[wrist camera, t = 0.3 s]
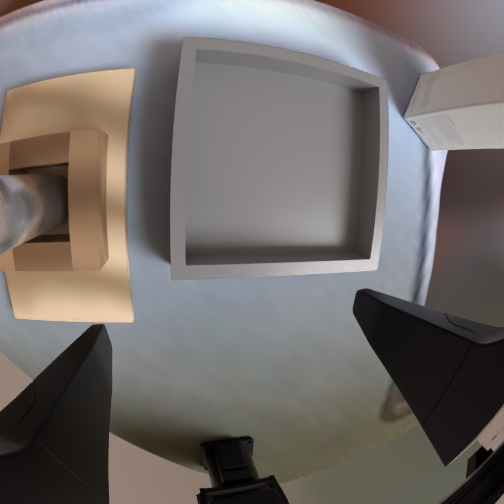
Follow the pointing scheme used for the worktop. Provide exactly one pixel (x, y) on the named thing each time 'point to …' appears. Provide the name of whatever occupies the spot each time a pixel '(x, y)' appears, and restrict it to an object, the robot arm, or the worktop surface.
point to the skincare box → (460, 106)
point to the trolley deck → (65, 117)
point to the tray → (275, 163)
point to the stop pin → (30, 207)
